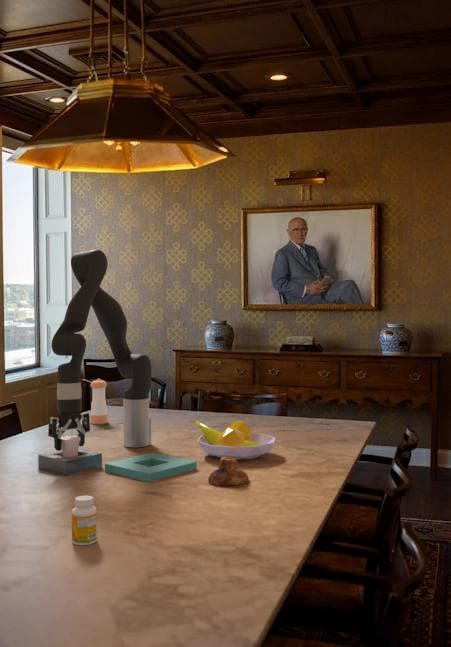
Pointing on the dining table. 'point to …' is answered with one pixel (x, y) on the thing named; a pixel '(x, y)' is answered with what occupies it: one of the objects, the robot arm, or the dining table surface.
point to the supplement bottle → (84, 521)
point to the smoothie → (70, 445)
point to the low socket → (143, 470)
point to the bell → (228, 474)
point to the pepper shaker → (98, 402)
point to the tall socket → (69, 462)
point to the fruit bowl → (234, 441)
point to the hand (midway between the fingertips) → (69, 448)
